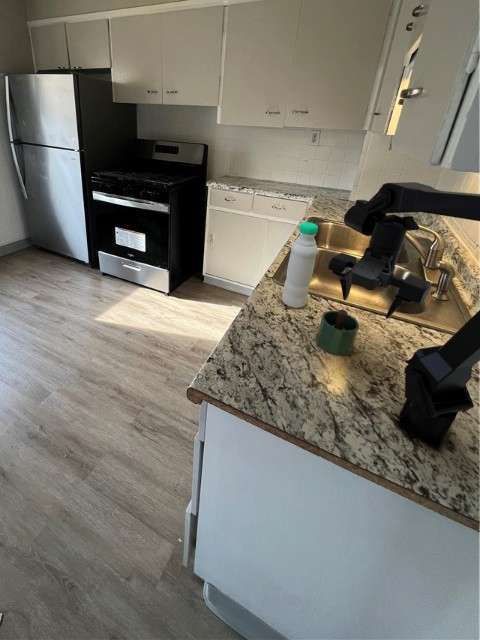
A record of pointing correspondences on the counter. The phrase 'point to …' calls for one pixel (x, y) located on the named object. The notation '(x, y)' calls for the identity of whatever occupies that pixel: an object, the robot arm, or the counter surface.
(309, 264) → the water bottle
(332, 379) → the counter surface
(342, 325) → the brush
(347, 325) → the green plastic cup
